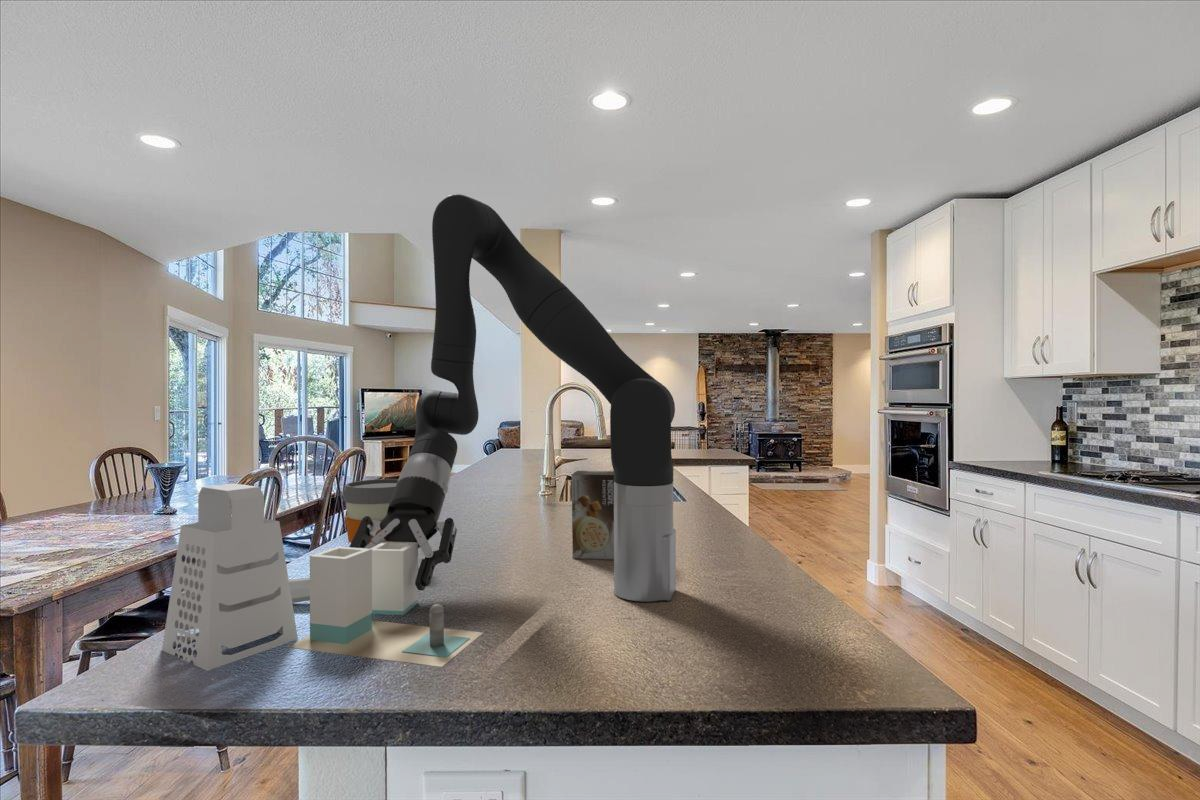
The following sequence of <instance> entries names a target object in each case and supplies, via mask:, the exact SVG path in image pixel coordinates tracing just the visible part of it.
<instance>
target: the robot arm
mask: <svg viewBox="0 0 1200 800" xmlns="http://www.w3.org/2000/svg"><path fill="white" fill-rule="evenodd" d="M431 223H432V225H431V229H432V231H431V233H432V234H431V236H432V238H431V240H432V252H433V269H434V290H435V291H434V293H435V316H434V318H435V319H434V331H433V340H432V341H433V343H432V349H431V352H432V353H431V360H430V372H431V373H432V374H433V375H434V376H436V377H438V378H440V379H444V380H446V381H449V382H450V383H452V384H453V385H454V386H455V389H456V390H457V393H456V392H450V391H442V390H432V389H431V390H428V391H425V392H423V393H422V394H421V395H420V396H419V397H418V399H417V401H416V405H415V423H416V424H415V434H414V440H413V443H412V447H411V449H410V451H409V454H408V458H407V460H406V461H405V464H404V465H403V468H402V469H401V472H400V474H399V476H398V477H399V478H397V479H398V482H397V485H396V487H395V490H394V493H393V495H392V498H391V501H390V503H389V506H388V511H387V515H386V516H385V517H384V518H383V519H382V520H381V521H378V520H371V518H370V517H369V516H365V517H364V518H363V519H362V521H361V523H360V525H359V527H358V530H357V532H356V534H355V536H354V538H353V540H352V542H351V543H350V545H349V547H352V548H366V549H371V548H373V547H374V546H376V545H378V544H380V543H382V542H383V540H386V542H418V549H421V552H422V554H423V556H424V558H422V559H421V561H420V564H419V566H418V574H417V577H416V580H415V585H416V587H417V589H418V591H425V588H426V587H429V586H430V584H431V582H432V579H433V575H434V571H435V567H436V566H437V565H438V564H440V563H444V564H449V563H450V562H451V560H452V557H453V553H454V552H453V551H454V546H455V541H456V536H457V532H458V529H457V525H456V524H455V522H454V520H453V518H452V517H447V518H446V519H445V520H444V521H438V520H439V518H440V516H441V512H442V509H443V506H444V503H445V502H444V501H445V499H446V496H447V494H448V491H449V485H450V480H451V479H450V477H451V473H452V470H453V467H454V464H455V463H454V462H455V460H456V457H457V453H458V442H457V440H456V439H455V438H454V436H452V434H453V435H459V436H460V435H461V436H466V435H468V434H470V433H472V432H473V431H474V430H475V428H476V427H477V426H478V425H477V424H478V423H479V414H480V413H479V406H478V401H477V395H476V390H475V389H476V388H475V382H474V361H475V354H476V353H475V352H476V343H477V324H476V317H475V312H474V307H473V302H472V301H473V300H472V298H471V297H472V296H471V285H470V271H471V266H472V265H471V264H472V259H473V260H474V261H475V262H477V264H479V265H480V266H482V267H483V268H484V269H485V270H486V271H487V272H488V273H489V274H490V275H492V277H494V278H495V280H497V282H498V283H499V284H500V285H501V287H502V289H503V290H504V292H505V293H506V296H507V298H508V301H510V303H511V306H512V307H513V310H514V311H515V313H516V315H517V317H518V318H519V319H520V320H521V322H522V323H523V324H524V325H525V326H526V328H527V329H528V331H530V332H531V333H532V334H533V335H534V337H536V338H537V340H538V341H539V342H540V343H541V344H542V345H543V346H544V347H545V348H547V350H549V351H550V352H551V353H552V354H554V355H555V356H556V357H558V359H560V360H561V361H563V362H564V363H565V364H566V365H568V366H570V367H571V368H572V369H573V370H575V371H576V372H577V373H579V374H581V375H582V376H583V377H584V378H585V379H587V380H588V381H589V382H590V383H591V384H592V385H594V387H595V388H596V389H597V390H598V391H599V392H600V394H601V395H603V397H604V398H605V399H606V401H607V402H608V403H609V404H610V408H609V409H610V410H609V411H610V412H609V413H610V414H609V434H610V438H609V440H610V461H611V466H612V471H614V559H613V592H614V594H615V596H616V597H618V598H621V599H624V600H628V601H634V602H658V601H671V600H672V597H673V595H674V593H675V592H676V589H677V556H676V555H677V552H676V551H677V545H676V543H677V537H676V536H677V534H676V529H675V528H674V464H673V457H672V422H673V421H674V418H675V412H676V405H675V400H674V397H673V395H672V394H671V392H670V391H669V389H668V388H667V387H666V386H665V385H663V384H662V383H661V382H659V381H658V380H657V379H656V378H654V377H653V376H652V375H651V374H649V373H648V372H647V371H646V370H644V368H642V367H641V366H640V365H639V364H638V363H637V362H636V361H634V360H633V359H632V358H631V357H629V356H628V355H627V354H626V353H625V351H623V349H622V348H621V347H620V346H619V345H618V344H617V343H616V341H615V340H614V338H613V337H612V336H611V334H610V333H609V332H608V331H607V330H606V328H605V327H604V326H603V325H602V323H600V322H599V320H598V319H597V318H596V316H594V314H593V313H592V312H591V311H590V310H589V309H588V307H586V305H585V304H584V303H583V302H582V301H581V300H580V299H579V298H578V297H577V296H576V295H575V294H574V293H573V291H571V289H569V287H567V286H566V284H564V283H563V282H562V281H561V280H560V279H559V278H558V277H557V276H556V275H555V274H554V273H552V271H550V270H549V269H548V268H547V267H546V266H545V265H544V264H542V263H541V262H540V260H538V259H537V258H536V257H534V256H533V255H532V254H531V253H530V252H529V251H528V250H527V248H525V246H523V244H522V242H520V240H519V239H518V238H517V236H515V234H514V233H513V232H512V230H511V228H509V226H508V225H507V224H506V223H505V221H504V220H503V218H502V217H501V216H500V214H498V212H496V210H495V209H493V208H492V206H490V205H488V204H486V203H484V202H482V201H480V200H478V199H475V198H474V197H469V196H467V195H465V194H461V193H453V194H450V195H446V196H445V197H443V198H442V199H441V200H440V201H439V203H438V204H437V205H436V207H435V210H434V211H433V215H432V222H431ZM380 529H381V532H379V533H378V534H377V535H376V534H375V533H376V532H377V531H378V530H380ZM437 532H439V534H440V537H441V538H440V541H439V546H438V549H437V550H433V549H432V547H431V545H430V543H429V540H430V539H432V537H434V536H435V535H436V534H437ZM375 535H376V536H375ZM372 536H374V537H373V538H372ZM371 538H372V540H371ZM370 540H371V542H370ZM369 542H370V543H369Z"/></svg>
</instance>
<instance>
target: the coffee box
mask: <svg viewBox="0 0 1200 800" xmlns="http://www.w3.org/2000/svg"><path fill="white" fill-rule="evenodd" d="M571 524H572V525H571V531H572V532H571V533H572V534H571V535H572V536H571V537H572V559H586V560H587V559H588V560H590V559H591V560H593V559H594V560H614V470H608V471H607V470H576V471H574V472H573V474H571Z"/></svg>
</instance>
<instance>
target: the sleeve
mask: <svg viewBox="0 0 1200 800" xmlns="http://www.w3.org/2000/svg"><path fill="white" fill-rule="evenodd" d="M371 549H372V615H388V616H393V615H395V616H404V615H406V614H407V613H408V612H409V611H411V609H412V608H414V607H416V605H418V603H419V590H418V589H417V587H416V585H415V580H416V577H417V574H418V570H419V548H418V542H382V543H380V544H378V545H376V546H374V547H373V548H371Z"/></svg>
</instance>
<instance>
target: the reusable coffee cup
mask: <svg viewBox="0 0 1200 800" xmlns="http://www.w3.org/2000/svg"><path fill="white" fill-rule="evenodd" d="M398 479H399V478H379V479H378V478H377V479H365V480H357V481H356V480H355V481H351V482H348V483H345V485H344V492H343V502H345V507H346V508H345V509H346V515H345V525H346V533H347V541H348V542H349V543H350V544H351V542H352V540H353V538H354V536H355V534H356V532H357V530H358V527H359V525H360V523H361V521H362V519H363V518H364V517H365V516H369V517H370V518H371V520H378V521H381V520H382V519H383V518H384V517H385V516H386V515H387V511H388V506H389V503H390V501H391V498H392V495H393V493H394V490H395V487H396V485H397V482H398ZM379 532H381V529H380V530H378V531H377V532H376V533H375V534H376V535H377V534H378V533H379ZM376 535H375V536H376ZM373 537H374V536H372V538H373ZM372 538H371V540H372ZM371 540H370V542H371ZM370 542H369V543H370ZM383 542H386V540H383Z"/></svg>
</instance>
